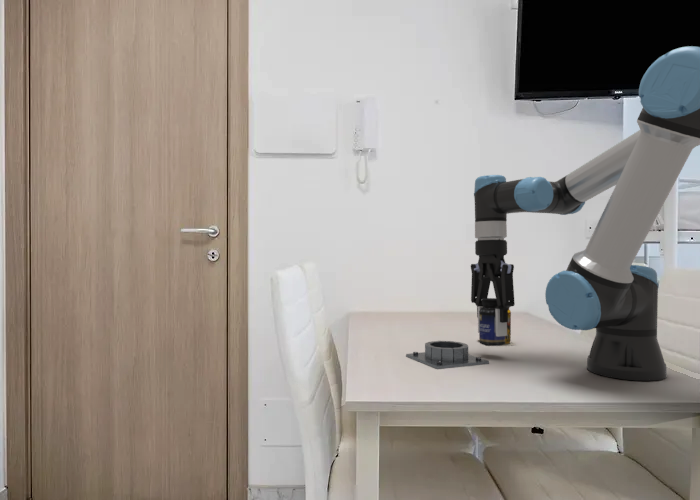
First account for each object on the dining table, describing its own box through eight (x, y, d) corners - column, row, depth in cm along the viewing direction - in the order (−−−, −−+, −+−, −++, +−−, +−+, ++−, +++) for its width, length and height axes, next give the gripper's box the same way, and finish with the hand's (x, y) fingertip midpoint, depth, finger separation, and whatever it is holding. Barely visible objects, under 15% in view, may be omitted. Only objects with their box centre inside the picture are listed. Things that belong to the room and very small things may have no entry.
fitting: (489, 363, 120) (489, 348, 120) (437, 369, 115) (437, 352, 115) (454, 352, 133) (454, 337, 133) (406, 356, 128) (406, 341, 128)
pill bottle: (474, 343, 128) (473, 298, 129) (493, 341, 131) (493, 297, 131) (490, 347, 123) (490, 300, 123) (511, 344, 125) (510, 299, 126)
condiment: (516, 345, 143) (516, 301, 142) (486, 346, 141) (487, 302, 141) (504, 340, 150) (505, 298, 150) (476, 341, 149) (477, 299, 148)
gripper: (530, 238, 120) (532, 338, 120) (479, 240, 138) (480, 328, 137) (504, 237, 117) (505, 340, 117) (455, 240, 135) (456, 330, 134)
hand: (492, 333), depth 127 cm, fingers closed on pill bottle, 6 cm apart
